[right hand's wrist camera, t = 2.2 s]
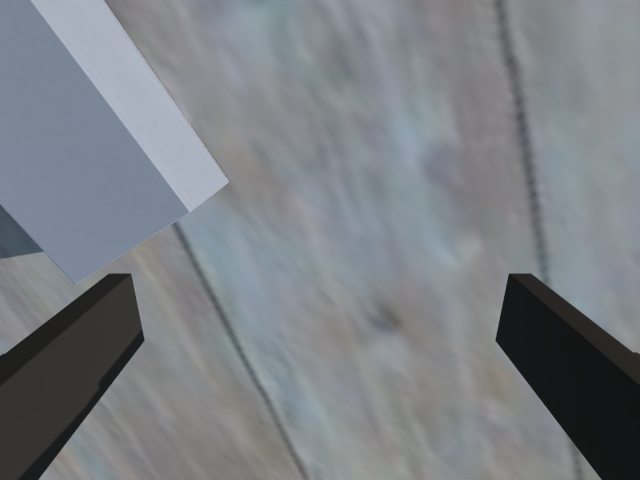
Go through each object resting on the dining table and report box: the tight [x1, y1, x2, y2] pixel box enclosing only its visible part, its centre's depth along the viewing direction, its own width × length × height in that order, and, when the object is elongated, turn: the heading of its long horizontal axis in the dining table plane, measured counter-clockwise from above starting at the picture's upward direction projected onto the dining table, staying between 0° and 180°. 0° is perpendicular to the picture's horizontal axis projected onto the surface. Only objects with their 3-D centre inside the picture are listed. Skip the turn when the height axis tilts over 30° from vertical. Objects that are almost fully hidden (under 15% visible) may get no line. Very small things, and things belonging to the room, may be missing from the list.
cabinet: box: [0, 0, 229, 284], centre depth 26 cm, size 20×10×10 cm, turn 31°
